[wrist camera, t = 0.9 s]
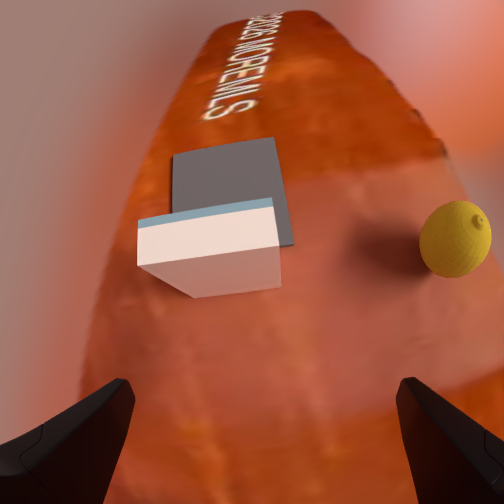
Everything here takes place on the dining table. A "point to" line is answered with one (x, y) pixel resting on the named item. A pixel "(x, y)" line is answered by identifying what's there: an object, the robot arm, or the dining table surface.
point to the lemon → (455, 239)
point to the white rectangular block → (213, 248)
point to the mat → (232, 179)
